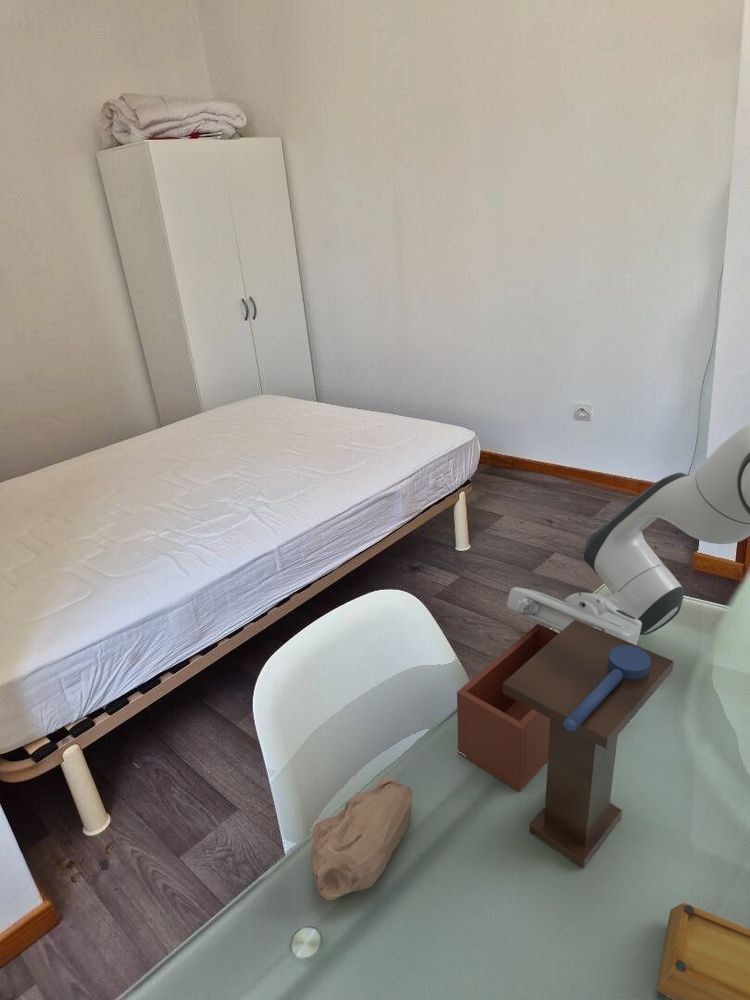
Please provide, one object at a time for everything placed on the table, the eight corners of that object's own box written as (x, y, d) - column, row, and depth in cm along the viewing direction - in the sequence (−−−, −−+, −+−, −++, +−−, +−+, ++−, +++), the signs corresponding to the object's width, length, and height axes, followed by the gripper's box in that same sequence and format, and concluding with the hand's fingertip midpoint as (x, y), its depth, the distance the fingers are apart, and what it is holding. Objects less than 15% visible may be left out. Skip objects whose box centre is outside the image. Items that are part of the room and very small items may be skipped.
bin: (535, 680, 117) (537, 623, 112) (594, 711, 110) (600, 651, 104) (457, 753, 104) (456, 691, 99) (519, 792, 97) (521, 728, 91)
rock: (367, 870, 77) (291, 830, 80) (353, 935, 80) (280, 894, 83) (423, 777, 93) (358, 748, 97) (410, 834, 96) (347, 804, 100)
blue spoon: (586, 744, 70) (587, 733, 70) (547, 722, 73) (548, 712, 73) (656, 665, 80) (657, 655, 80) (619, 649, 83) (620, 639, 83)
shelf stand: (564, 764, 101) (574, 619, 89) (650, 814, 92) (674, 661, 81) (499, 836, 91) (502, 683, 79) (589, 899, 82) (607, 738, 71)
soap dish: (674, 888, 78) (669, 916, 80) (659, 969, 70) (653, 998, 72) (802, 940, 72) (792, 968, 74) (800, 1034, 64) (789, 1063, 66)
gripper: (536, 580, 118) (495, 575, 107) (652, 625, 104) (618, 625, 94) (525, 614, 118) (483, 613, 108) (639, 664, 105) (604, 668, 94)
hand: (547, 619), depth 101 cm, fingers open, 8 cm apart
